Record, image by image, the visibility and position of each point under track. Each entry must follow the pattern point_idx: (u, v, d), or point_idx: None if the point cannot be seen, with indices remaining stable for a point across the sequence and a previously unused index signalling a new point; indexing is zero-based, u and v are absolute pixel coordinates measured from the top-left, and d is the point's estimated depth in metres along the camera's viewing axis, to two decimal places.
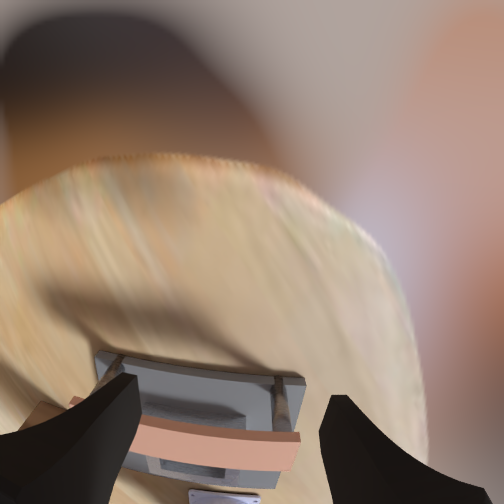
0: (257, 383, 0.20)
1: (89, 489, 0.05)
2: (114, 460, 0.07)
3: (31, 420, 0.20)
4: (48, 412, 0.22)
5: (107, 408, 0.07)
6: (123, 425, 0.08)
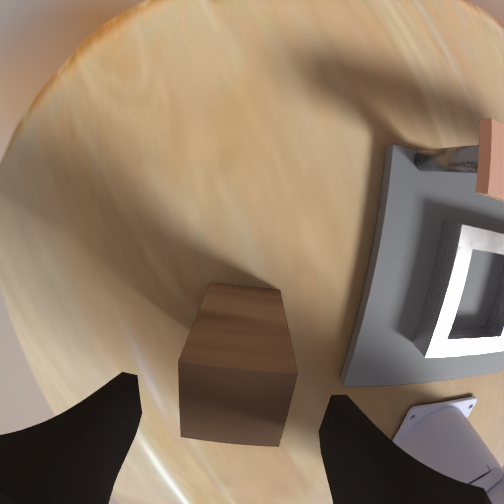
0: None
1: (89, 489, 0.05)
2: (114, 460, 0.07)
3: (213, 305, 0.14)
4: (239, 293, 0.16)
5: (107, 408, 0.07)
6: (123, 425, 0.08)
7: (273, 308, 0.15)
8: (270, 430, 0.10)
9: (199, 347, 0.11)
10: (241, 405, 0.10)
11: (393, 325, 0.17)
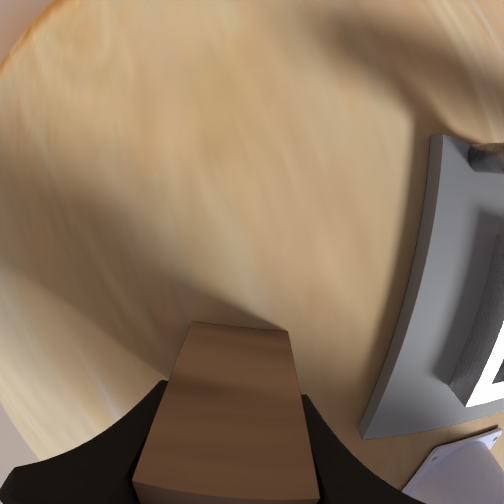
0: None
1: None
2: None
3: (193, 366, 0.09)
4: (231, 340, 0.11)
5: None
6: None
7: (280, 367, 0.10)
8: None
9: (166, 452, 0.06)
10: None
11: (429, 369, 0.12)
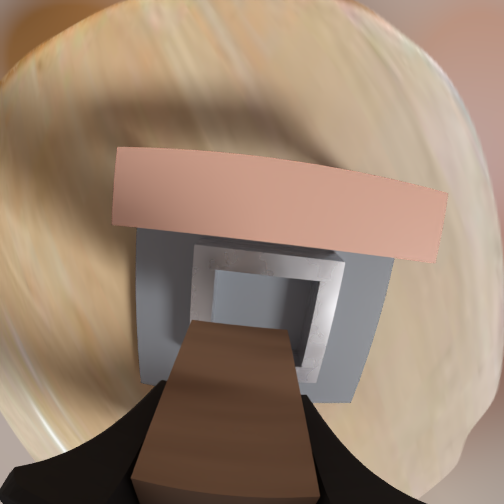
0: None
1: None
2: None
3: (192, 363, 0.09)
4: (230, 339, 0.11)
5: None
6: None
7: (280, 365, 0.10)
8: None
9: (165, 449, 0.06)
10: None
11: (168, 335, 0.19)
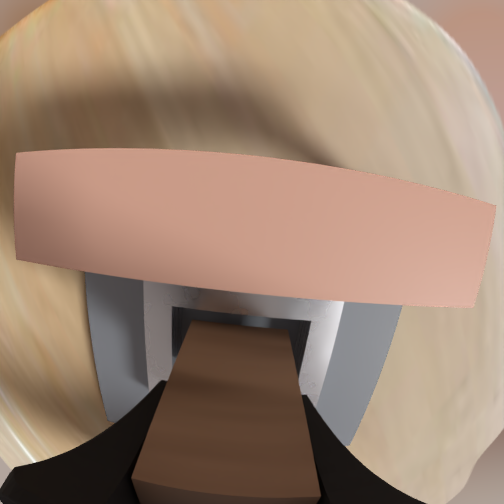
0: None
1: None
2: None
3: (193, 363, 0.09)
4: (231, 338, 0.11)
5: None
6: None
7: (280, 365, 0.10)
8: None
9: (166, 449, 0.06)
10: None
11: (129, 374, 0.15)
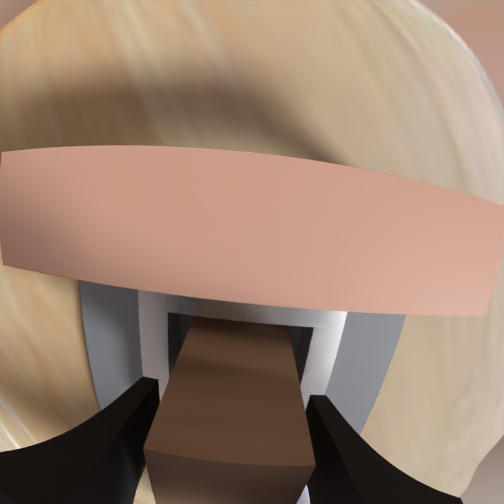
0: None
1: (115, 498, 0.05)
2: (137, 466, 0.07)
3: (198, 348, 0.10)
4: (233, 327, 0.12)
5: (132, 414, 0.07)
6: (145, 430, 0.08)
7: (279, 351, 0.11)
8: None
9: (174, 422, 0.07)
10: (235, 495, 0.06)
11: (126, 380, 0.14)
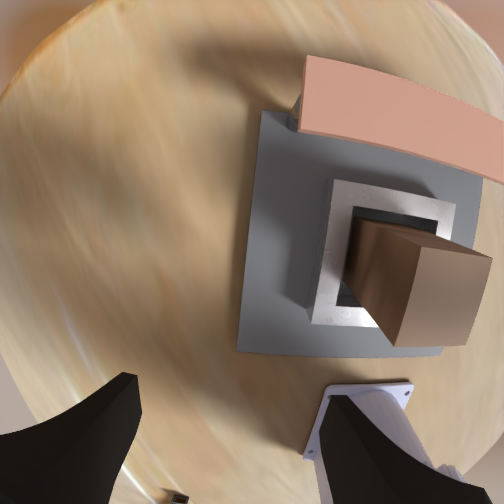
0: None
1: (89, 489, 0.05)
2: (114, 460, 0.07)
3: (383, 226, 0.14)
4: (387, 223, 0.16)
5: (107, 408, 0.07)
6: (123, 425, 0.08)
7: (425, 232, 0.15)
8: (465, 324, 0.10)
9: (419, 242, 0.11)
10: (455, 294, 0.10)
11: (279, 289, 0.18)
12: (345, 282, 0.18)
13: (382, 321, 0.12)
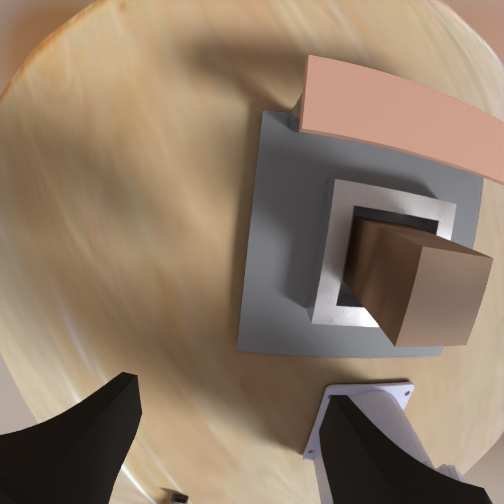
0: None
1: (89, 489, 0.05)
2: (114, 460, 0.07)
3: (384, 226, 0.14)
4: (388, 223, 0.16)
5: (107, 408, 0.07)
6: (123, 425, 0.08)
7: (425, 232, 0.15)
8: (466, 324, 0.10)
9: (420, 241, 0.11)
10: (456, 294, 0.10)
11: (280, 289, 0.18)
12: (346, 282, 0.18)
13: (383, 321, 0.12)
